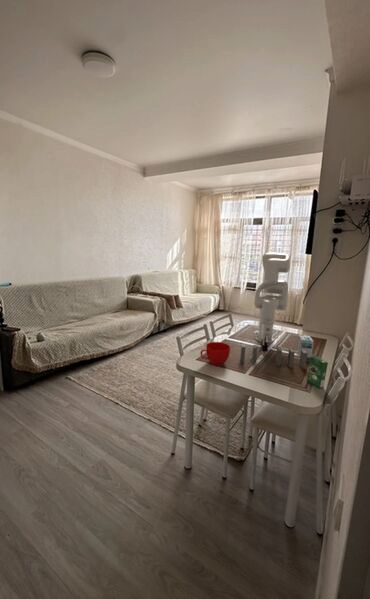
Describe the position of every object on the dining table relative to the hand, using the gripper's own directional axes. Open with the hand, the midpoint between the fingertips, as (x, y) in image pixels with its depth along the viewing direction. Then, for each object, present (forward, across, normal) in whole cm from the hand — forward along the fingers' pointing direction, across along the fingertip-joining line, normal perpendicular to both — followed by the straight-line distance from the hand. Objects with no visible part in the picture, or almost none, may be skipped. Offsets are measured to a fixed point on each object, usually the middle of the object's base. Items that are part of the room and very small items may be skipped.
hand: (264, 349), depth 170 cm
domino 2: (+3, -13, +7) cm, 15 cm away
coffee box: (+3, -33, -20) cm, 39 cm away
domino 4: (+3, -13, -6) cm, 15 cm away
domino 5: (+3, -13, -13) cm, 19 cm away
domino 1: (+3, -13, +13) cm, 19 cm away
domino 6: (+3, -13, -19) cm, 24 cm away
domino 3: (+3, 0, 0) cm, 3 cm away
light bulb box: (+3, +6, -25) cm, 26 cm away
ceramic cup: (+3, -22, +29) cm, 36 cm away
